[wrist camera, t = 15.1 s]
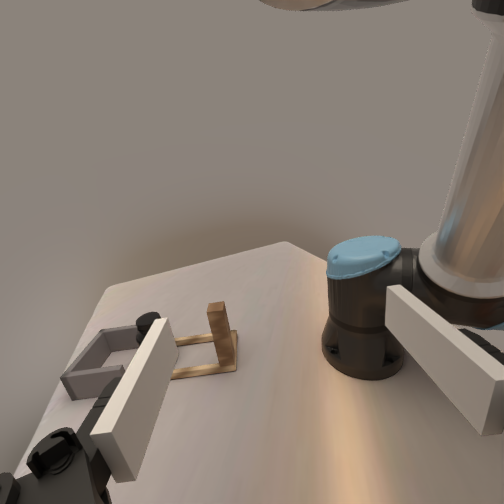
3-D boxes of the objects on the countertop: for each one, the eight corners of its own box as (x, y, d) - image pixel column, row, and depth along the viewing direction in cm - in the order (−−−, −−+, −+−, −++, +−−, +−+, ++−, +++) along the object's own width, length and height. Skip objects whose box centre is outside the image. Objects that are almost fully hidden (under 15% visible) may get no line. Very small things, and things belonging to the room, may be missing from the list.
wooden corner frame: (132, 384, 50) (107, 326, 45) (151, 346, 60) (133, 295, 56) (236, 370, 50) (222, 310, 45) (237, 334, 60) (226, 282, 55)
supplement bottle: (140, 368, 55) (123, 323, 50) (165, 347, 60) (151, 305, 56) (159, 379, 51) (142, 332, 47) (184, 356, 56) (171, 312, 52)
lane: (72, 400, 49) (59, 377, 47) (109, 348, 62) (101, 329, 60) (129, 392, 49) (119, 369, 47) (154, 342, 62) (147, 323, 60)
